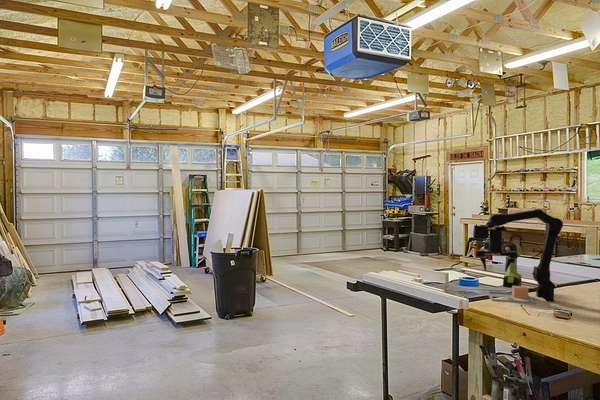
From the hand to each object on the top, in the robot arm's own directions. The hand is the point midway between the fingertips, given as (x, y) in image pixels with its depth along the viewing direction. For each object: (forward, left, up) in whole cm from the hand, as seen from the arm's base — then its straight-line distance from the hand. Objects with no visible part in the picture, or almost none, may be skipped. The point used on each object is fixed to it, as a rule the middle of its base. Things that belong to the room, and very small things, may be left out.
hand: (495, 271), depth 213 cm
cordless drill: (-10, -17, -13) cm, 23 cm away
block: (-10, +3, -11) cm, 15 cm away
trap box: (-5, +7, -12) cm, 15 cm away
